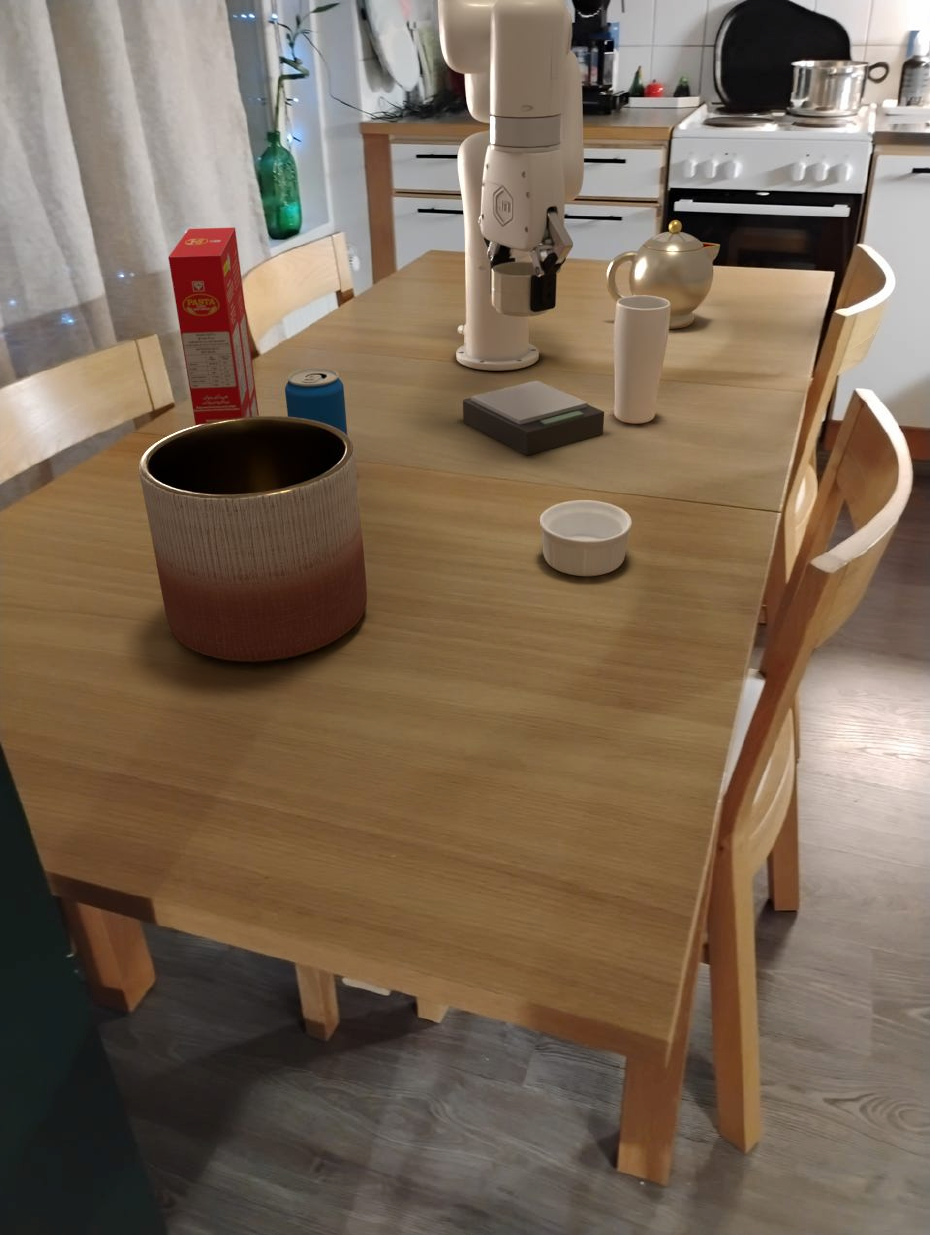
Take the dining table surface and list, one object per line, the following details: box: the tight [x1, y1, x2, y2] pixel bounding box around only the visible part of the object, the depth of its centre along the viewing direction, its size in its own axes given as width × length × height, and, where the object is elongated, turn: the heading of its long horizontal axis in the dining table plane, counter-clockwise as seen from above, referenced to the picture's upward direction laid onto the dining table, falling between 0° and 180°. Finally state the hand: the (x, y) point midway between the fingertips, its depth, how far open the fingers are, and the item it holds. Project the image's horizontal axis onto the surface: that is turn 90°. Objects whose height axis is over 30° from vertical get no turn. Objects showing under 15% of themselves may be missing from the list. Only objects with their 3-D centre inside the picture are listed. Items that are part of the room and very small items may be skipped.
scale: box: [462, 380, 605, 457], centre depth 128 cm, size 14×12×4 cm
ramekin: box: [539, 499, 633, 577], centre depth 98 cm, size 9×9×4 cm
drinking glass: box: [613, 295, 671, 425], centre depth 128 cm, size 7×7×15 cm
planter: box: [138, 415, 368, 663], centre depth 87 cm, size 18×18×16 cm
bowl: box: [492, 260, 549, 318], centre depth 116 cm, size 7×7×5 cm
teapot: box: [605, 219, 721, 330], centre depth 165 cm, size 18×14×16 cm
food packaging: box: [167, 227, 260, 426], centre depth 116 cm, size 15×5×25 cm, turn 5°
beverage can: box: [284, 367, 348, 436], centre depth 114 cm, size 6×6×12 cm
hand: (522, 300), depth 116 cm, fingers closed on bowl, 7 cm apart
